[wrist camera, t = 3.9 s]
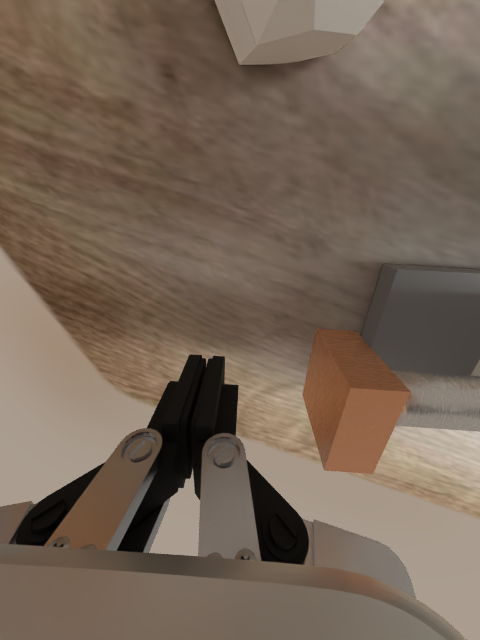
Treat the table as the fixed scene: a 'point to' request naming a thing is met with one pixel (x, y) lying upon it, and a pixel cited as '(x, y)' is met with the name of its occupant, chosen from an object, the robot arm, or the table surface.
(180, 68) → the table surface
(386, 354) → the bearing base
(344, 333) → the shaft
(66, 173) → the table surface
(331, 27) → the crystal
